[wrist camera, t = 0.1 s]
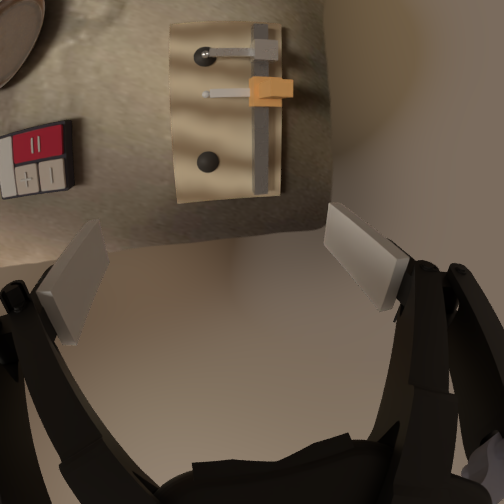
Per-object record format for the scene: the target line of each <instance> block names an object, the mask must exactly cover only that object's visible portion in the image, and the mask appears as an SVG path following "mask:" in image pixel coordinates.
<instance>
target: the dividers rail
mask: <svg viewBox="0 0 504 504" xmlns="http://www.w3.org/2000/svg"><path fill="white" fill-rule="evenodd" d="M208 57H250V63H251V78H252V77H253V76H260V77H269V64H273V63H275V62H276V61H278V40H268V24H257V23H254V24H253V25H252V26H251V44H250V48H210V49H209V52H208V51H203V52H202V58H203V59H207V58H208ZM268 151H269V107H252V192H253V193H254V195H262V194H268Z"/></svg>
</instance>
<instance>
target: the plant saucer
mask: <svg viewBox="0 0 504 504" xmlns="http://www.w3.org/2000/svg"><path fill="white" fill-rule="evenodd" d="M44 17H45V1H44V0H2V1H0V88H1V87H3V86H4V85H5V84H6V83H7V82H8V81H9V80H10V79H11V78H12V77H13V76H14V75H15V74H16V73H17V72H18V71H19V69H20V68H21V67H22V66H23V64H24V63H25V61H26V60H27V58H28V57H29V55H30V54H31V52H32V50H33V48H34V46H35V44H36V42H37V40H38V38H39V35H40V32H41V29H42V26H43V22H44Z"/></svg>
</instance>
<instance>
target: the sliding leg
mask: <svg viewBox="0 0 504 504" xmlns="http://www.w3.org/2000/svg"><path fill="white" fill-rule="evenodd" d="M209 95H210V98H221V97H249V107H282V98H290V97H293V80H289V79H282V78H281V77H260V76H253V77H252V78H250V79H249V88H226V89H210V93H209V91H204V92H203V93H202V97H203V98H208V97H209Z"/></svg>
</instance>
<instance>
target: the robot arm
mask: <svg viewBox="0 0 504 504" xmlns="http://www.w3.org/2000/svg"><path fill="white" fill-rule="evenodd" d="M324 246H325V247H326V248H327V249H328V250H329V251H330V252H331V253H332V255H333V256H334V257H335V258H336V259H337V261H338V262H339V263H340V264H341V265H342V266H343V268H344V269H345V270H346V271H347V272H348V273H349V275H350V276H351V277H352V278H353V280H354V281H355V282H356V283H357V284H358V286H359V287H360V288H361V289H362V291H363V292H364V293H365V294H366V295H367V297H368V298H369V299H370V300H371V302H372V303H373V304H374V305H375V307H376V308H377V309H378V310H379V312H381V311H386V310H389V309H392V308H393V305H394V303H395V300H396V298H397V299H398V300H399V301H400V303H401V304H400V306H399V308H398V311H397V313H396V316H395V318H394V321H393V322H396V320H397V322H396V329H395V336H394V343H393V348H392V354H391V359H390V364H389V369H388V375H387V379H386V383H385V388H384V392H383V396H382V400H381V404H380V407H379V411H378V415H377V418H376V422H375V425H374V428H373V430H372V432H371V434H370V436H369V437H368V439H367V440H351V438H350V435H349V433H345V434H342V435H339V436H336V437H333V438H330V439H326V440H323V441H320V442H316V443H313V444H311V445H310V446H308V447H306V448H304V449H302V450H300V451H298V452H296V453H294V454H292V455H290V456H288V457H286V458H284V459H282V460H279V461H275V462H266V461H246V460H234V459H231V460H222V461H211V462H196V463H192V468H193V470H192V471H189V472H186V473H183V474H181V475H178V476H176V477H174V478H172V479H171V480H169V481H168V482H166V483H165V484H163V485H162V486H161V487H159V486H158V485H157V484H156V483H155V482H154V481H153V480H152V479H151V478H150V477H149V476H148V475H146V474H145V473H144V472H143V471H142V470H141V469H140V468H139V467H138V466H137V465H136V464H135V462H134V461H133V460H132V459H131V458H130V457H129V456H128V454H127V453H126V452H125V451H124V450H123V448H122V447H121V446H120V445H119V443H118V442H117V441H116V440H115V438H114V437H113V436H112V435H111V433H110V432H109V431H108V429H107V428H106V427H105V425H104V424H103V423H102V421H101V420H100V418H99V417H98V415H97V414H96V413H95V411H94V410H93V408H92V407H91V405H90V404H89V402H88V400H87V399H86V397H85V396H84V394H83V393H82V391H81V389H80V388H79V386H78V384H77V383H76V381H75V379H74V378H73V376H72V374H71V372H70V370H69V369H68V367H67V365H66V363H65V361H64V359H63V357H62V356H61V354H60V352H59V349H58V347H57V346H56V344H55V342H54V341H55V338H56V336H58V338H59V339H60V341H61V343H62V345H77V343H78V340H79V337H80V334H81V332H82V328H83V326H84V323H85V320H86V318H87V315H88V312H89V310H90V307H91V305H92V302H93V300H94V297H95V295H96V292H97V290H98V287H99V285H100V283H101V280H102V278H103V276H104V274H105V271H106V269H107V267H108V265H109V258H108V254H107V250H106V246H105V242H104V238H103V233H102V229H101V224H100V219H96V220H89V221H87V222H86V223H85V225H84V226H83V227H82V228H81V229H80V231H79V232H78V233H77V234H76V236H75V237H74V238H73V240H72V241H71V242H70V243H69V245H68V246H67V247H66V249H65V250H64V251H63V253H62V254H61V255H60V257H59V258H58V260H57V261H56V263H55V264H54V265H52V266H50V267H49V268H48V269H47V270H46V271H45V272H44V273H43V275H42V277H41V278H40V280H39V281H38V283H37V284H36V285H35V287H34V288H33V290H32V291H31V293H30V294H29V292H28V289H27V287H26V285H25V283H24V281H23V280H15V281H13V282H11V283H9V284H7V285H6V286H5V287H4V288H3V289H2V290H1V292H0V300H1V302H2V304H3V306H4V308H5V309H6V311H7V313H8V314H7V315H3V316H0V504H52V502H51V500H50V497H49V495H48V492H47V489H46V486H45V483H44V480H43V477H42V474H41V471H40V467H39V464H38V460H37V456H36V452H35V448H34V444H33V439H32V434H31V429H30V423H29V417H28V411H27V403H26V395H25V384H24V378H25V381H26V384H27V387H28V390H29V392H30V395H31V397H32V400H33V403H34V405H35V407H36V410H37V412H38V414H39V417H40V419H41V421H42V423H43V425H44V428H45V430H46V432H47V434H48V436H49V438H50V440H51V442H52V444H53V445H54V447H55V449H56V451H57V453H58V455H59V457H60V459H61V462H62V463H61V464H59V469H60V472H61V474H62V476H63V477H64V479H65V480H66V482H67V484H68V485H69V487H70V488H71V490H72V491H73V493H74V494H75V496H76V497H77V499H78V500H79V502H80V503H81V504H498V503H499V502H500V501H501V500H502V499H503V498H504V329H503V327H502V325H501V323H500V321H499V319H498V317H497V315H496V313H495V312H494V310H493V309H492V306H491V304H490V303H489V301H488V299H487V297H486V296H485V294H484V293H483V291H482V289H481V288H480V286H479V284H478V283H477V281H476V280H475V278H474V276H473V275H472V273H471V272H470V271H469V270H468V269H467V268H466V267H465V266H464V265H462V264H457V263H452V264H450V266H449V269H448V271H447V272H440V271H439V269H438V268H437V267H436V266H435V265H434V264H432V263H430V262H428V261H424V260H418V261H415V260H414V259H413V258H412V257H411V256H410V255H408V254H407V253H406V252H405V251H403V250H402V249H401V248H400V247H399V246H397V245H396V244H395V243H394V242H393V241H391V240H389V239H387V238H386V237H384V236H383V235H382V234H381V233H379V232H378V231H377V230H375V229H374V228H373V227H372V226H371V225H369V224H368V223H367V222H365V221H364V220H363V219H361V218H360V217H359V216H357V215H356V214H355V213H353V212H352V211H351V210H349V209H348V208H347V207H345V206H344V205H342V204H341V203H329V207H328V215H327V222H326V230H325V237H324ZM458 305H459V308H458V311H457V310H456V309H457V307H458ZM449 371H450V375H451V379H452V383H453V388H454V392H455V394H451V393H449ZM458 414H459V421H460V427H461V434H462V440H463V445H464V450H465V454H466V457H467V460H468V464H467V465H466V466H465V467H464V468H463V469H462V472H461V476H462V477H461V476H458V475H455V474H452V473H451V469H452V464H453V457H454V450H455V442H456V433H457V420H458Z"/></svg>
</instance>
